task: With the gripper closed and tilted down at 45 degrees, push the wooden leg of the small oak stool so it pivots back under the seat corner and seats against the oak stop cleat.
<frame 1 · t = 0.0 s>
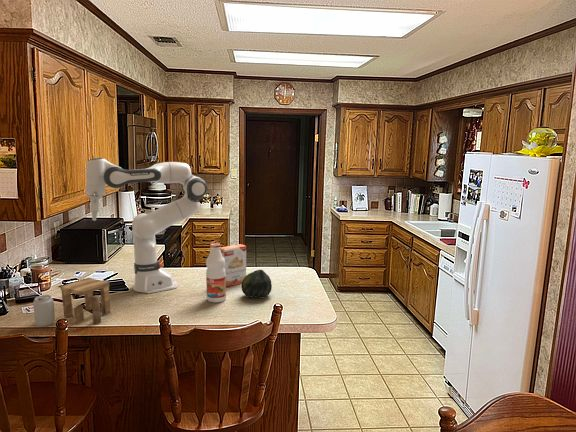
hand: (94, 218, 216), 39 cm above the countertop, tool pointing down, fingers open, 8 cm apart
squash: (257, 296, 221), on the countertop
cracker box: (233, 284, 240), on the countertop
stool: (87, 315, 196), on the countertop
fruit juice: (216, 299, 216), on the countertop
can: (45, 324, 187), on the countertop
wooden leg: (98, 306, 190), point 6 cm above the countertop, hinge at 40.0°
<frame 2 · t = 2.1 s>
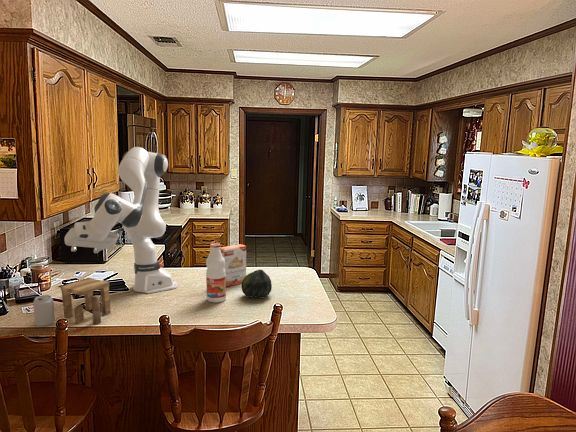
hand: (84, 251, 189), 30 cm above the countertop, tool tilted 45°, fingers open, 8 cm apart
nothing on the countertop moved.
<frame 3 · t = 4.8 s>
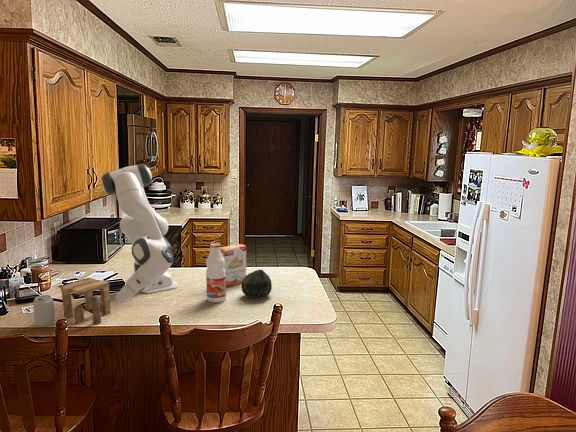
hand: (122, 300, 184), 11 cm above the countertop, tool tilted 45°, fingers closed
nothing on the countertop moved.
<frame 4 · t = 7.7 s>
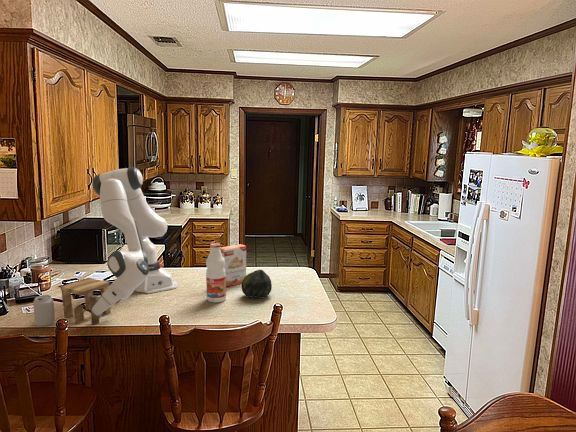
hand: (99, 311, 187), 5 cm above the countertop, tool tilted 45°, fingers closed, pressing on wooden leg
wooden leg: (97, 306, 190), point 6 cm above the countertop, hinge at 35.2°, touching gripper
everything else where it was.
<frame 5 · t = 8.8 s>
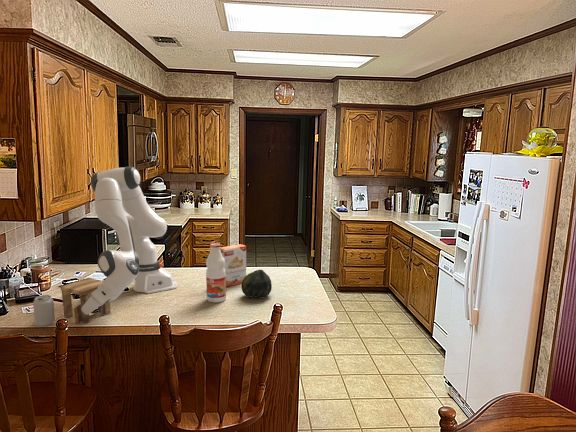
hand: (89, 311, 187), 5 cm above the countertop, tool tilted 45°, fingers closed, pressing on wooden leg
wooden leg: (91, 306, 191), point 6 cm above the countertop, hinge at 2.2°, touching gripper
everything else where it was.
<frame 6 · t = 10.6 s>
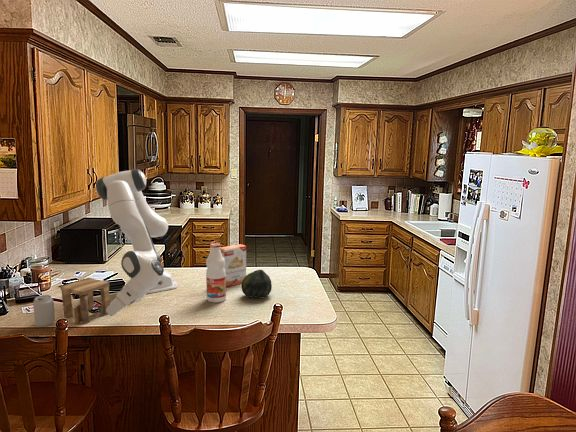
hand: (113, 312, 186), 6 cm above the countertop, tool tilted 45°, fingers closed
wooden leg: (91, 306, 191), point 6 cm above the countertop, hinge at 0.6°
everything else where it was.
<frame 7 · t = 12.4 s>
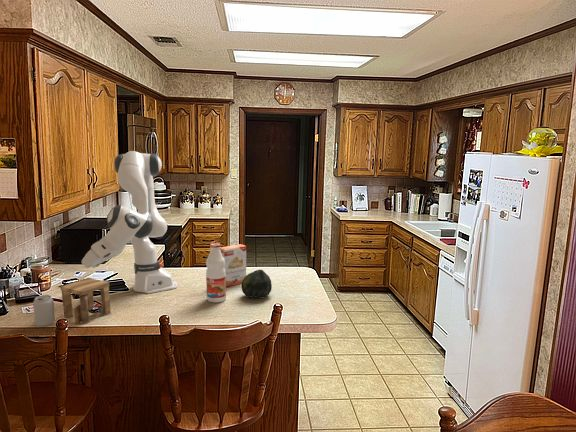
hand: (94, 265, 185), 25 cm above the countertop, tool tilted 45°, fingers closed
nothing on the countertop moved.
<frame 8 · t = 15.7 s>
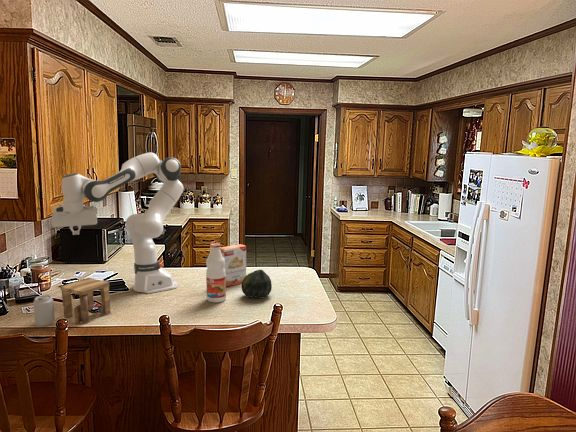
hand: (76, 234, 216), 31 cm above the countertop, tool pointing down, fingers closed
nothing on the countertop moved.
at the end: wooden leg at +1° (first picture: +40°); the gripper is holding nothing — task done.
